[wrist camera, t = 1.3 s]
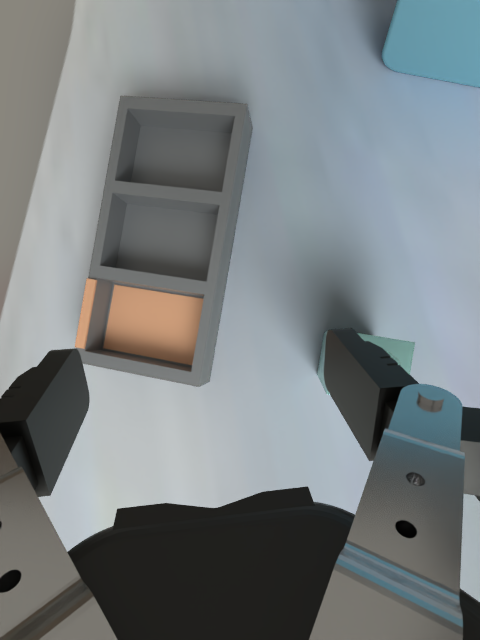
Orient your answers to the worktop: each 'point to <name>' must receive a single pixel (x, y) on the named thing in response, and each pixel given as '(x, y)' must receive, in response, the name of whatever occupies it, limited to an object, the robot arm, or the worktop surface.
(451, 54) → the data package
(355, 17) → the worktop surface
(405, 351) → the brushed teal metal block
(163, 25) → the worktop surface
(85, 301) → the slot rack
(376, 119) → the worktop surface
